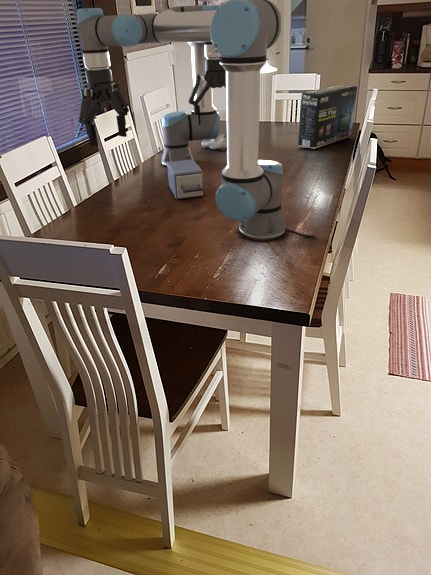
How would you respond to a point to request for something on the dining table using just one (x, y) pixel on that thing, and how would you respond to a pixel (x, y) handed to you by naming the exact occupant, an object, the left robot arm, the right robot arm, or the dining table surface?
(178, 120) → the left robot arm
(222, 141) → the fossil
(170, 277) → the dining table surface
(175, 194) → the cabinet
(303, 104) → the router box
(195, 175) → the drawer
